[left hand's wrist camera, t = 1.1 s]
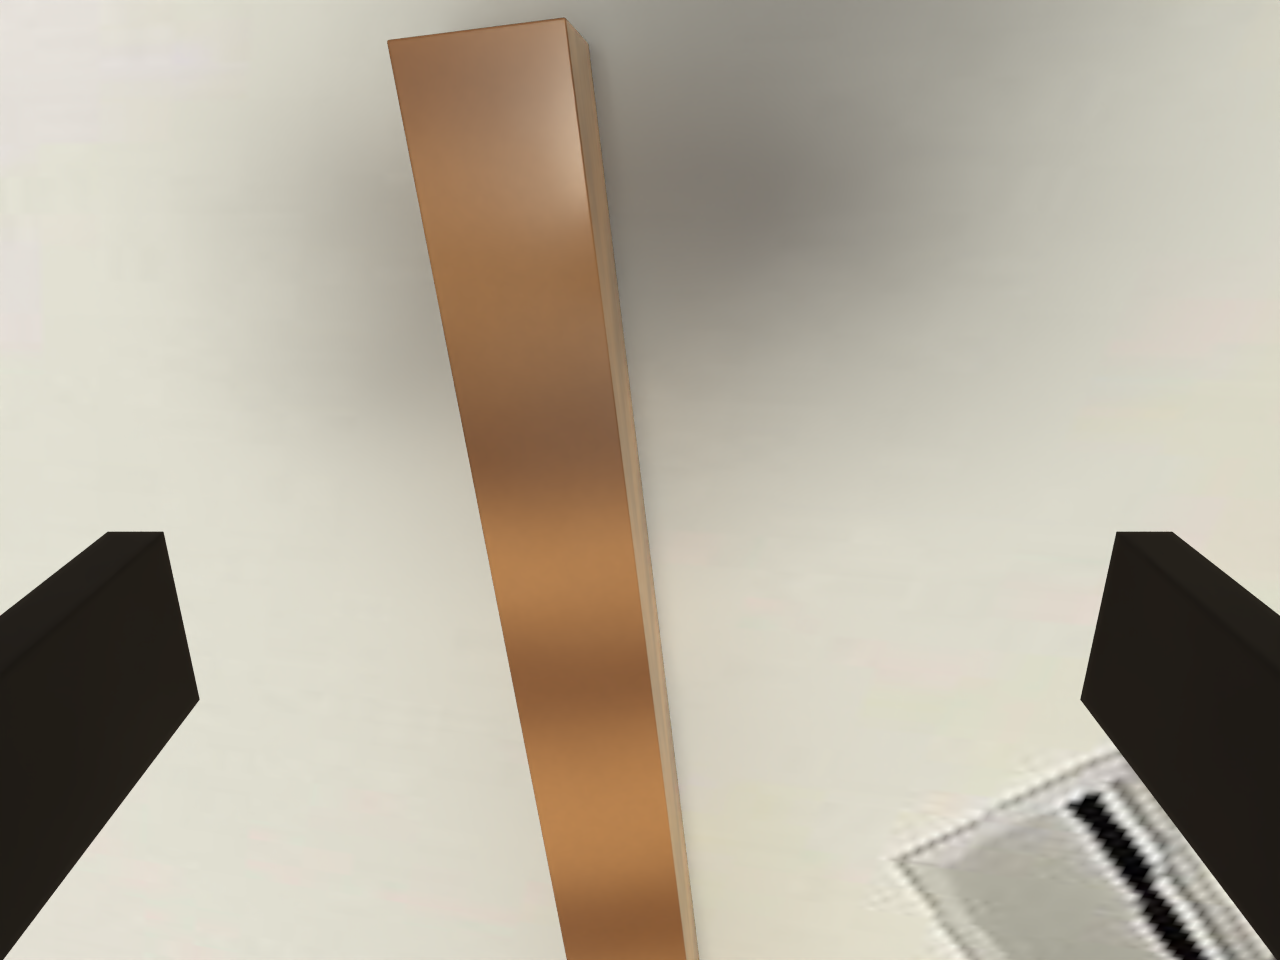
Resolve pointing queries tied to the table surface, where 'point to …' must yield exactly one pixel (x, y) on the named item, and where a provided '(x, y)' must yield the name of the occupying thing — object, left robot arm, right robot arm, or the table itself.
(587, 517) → the beam
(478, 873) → the table surface
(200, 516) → the table surface
